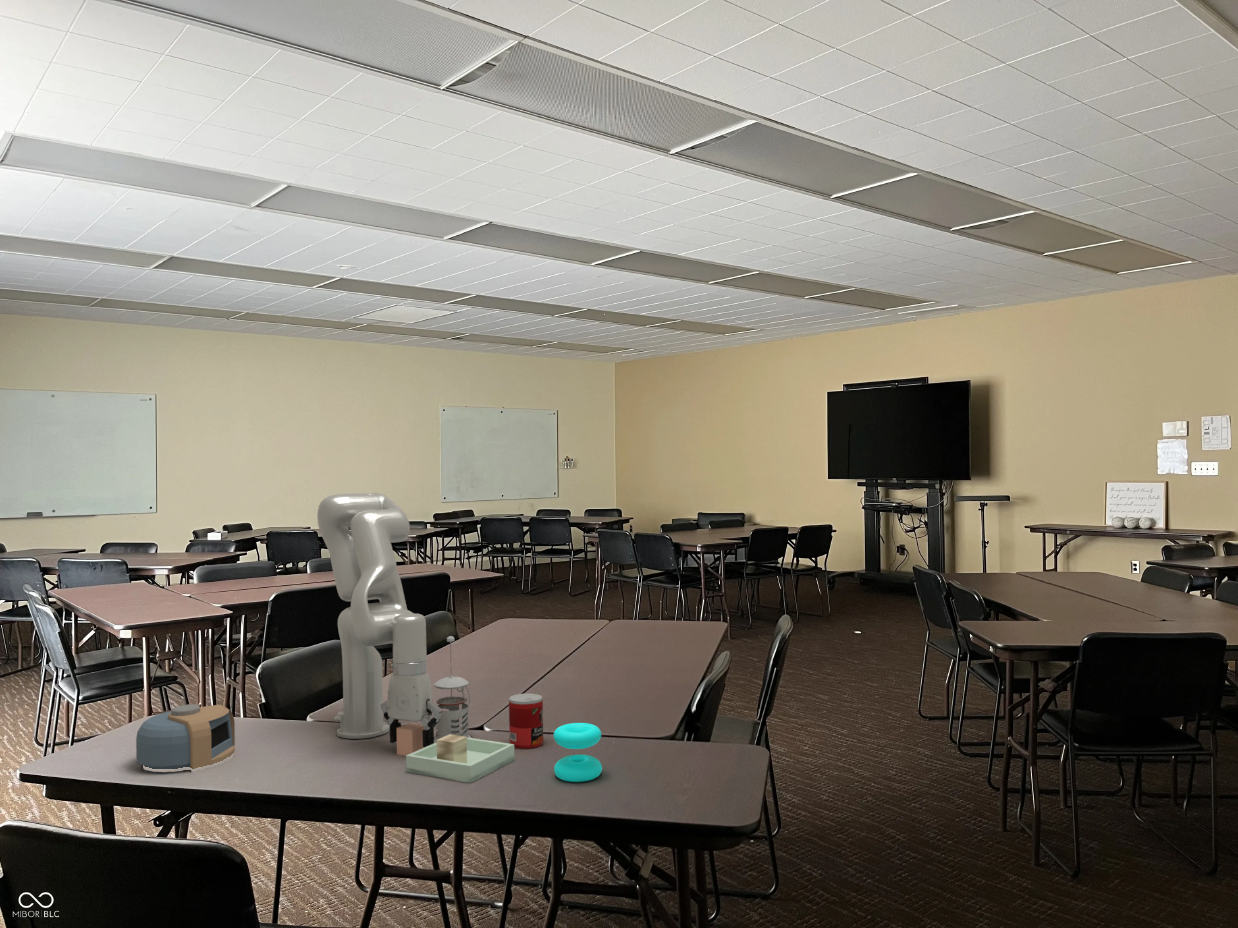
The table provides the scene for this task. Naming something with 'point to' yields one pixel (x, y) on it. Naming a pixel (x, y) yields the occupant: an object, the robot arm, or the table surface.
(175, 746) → the alarm clock
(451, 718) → the french press
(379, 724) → the robot arm
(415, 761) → the tray
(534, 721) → the canned food
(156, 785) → the table surface
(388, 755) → the table surface
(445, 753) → the birch block
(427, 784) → the table surface
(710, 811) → the table surface
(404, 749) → the terracotta block
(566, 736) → the donuts
